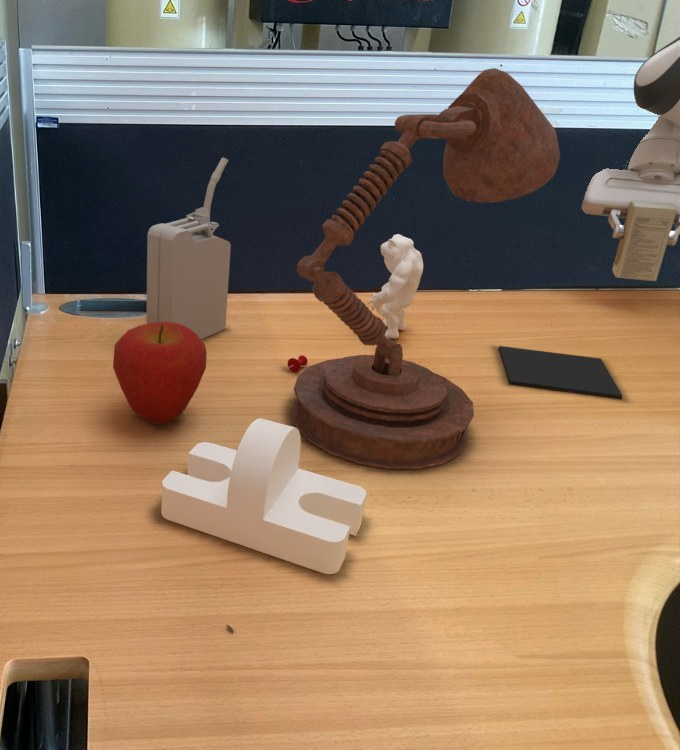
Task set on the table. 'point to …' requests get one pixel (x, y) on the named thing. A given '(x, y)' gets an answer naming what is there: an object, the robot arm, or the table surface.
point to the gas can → (189, 270)
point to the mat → (558, 372)
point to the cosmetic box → (644, 240)
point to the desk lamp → (386, 368)
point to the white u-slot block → (266, 499)
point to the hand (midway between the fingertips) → (644, 240)
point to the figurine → (398, 283)
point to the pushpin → (297, 363)
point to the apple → (159, 369)
